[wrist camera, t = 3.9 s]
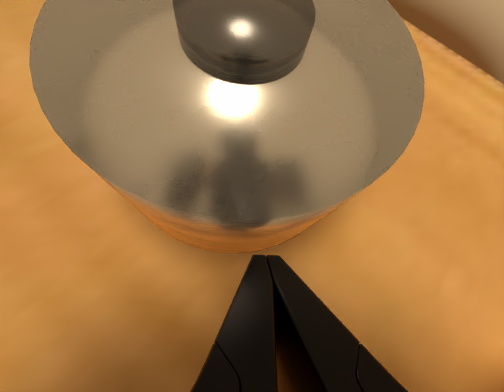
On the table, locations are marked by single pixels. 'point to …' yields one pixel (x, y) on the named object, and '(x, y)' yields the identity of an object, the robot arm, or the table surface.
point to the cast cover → (230, 107)
